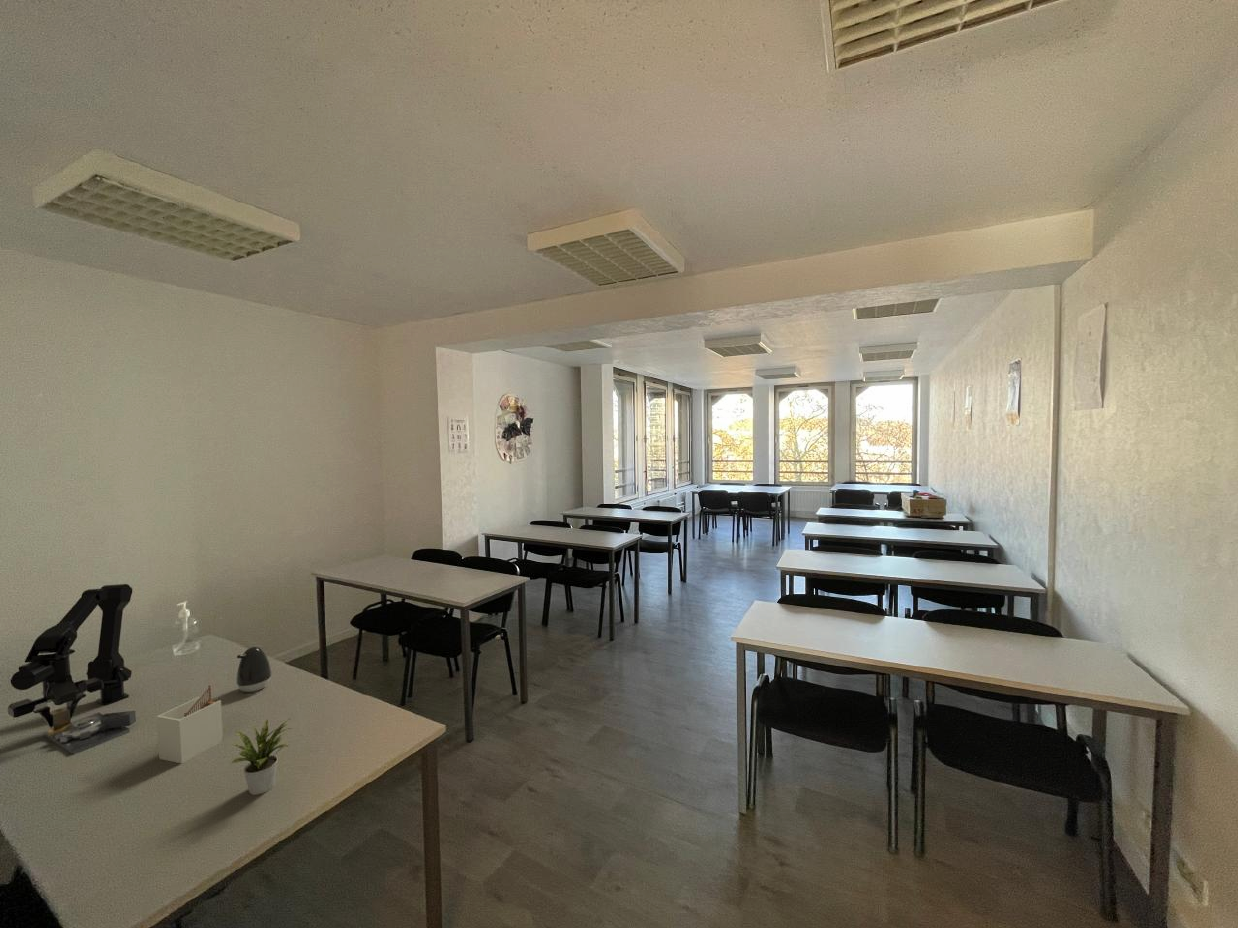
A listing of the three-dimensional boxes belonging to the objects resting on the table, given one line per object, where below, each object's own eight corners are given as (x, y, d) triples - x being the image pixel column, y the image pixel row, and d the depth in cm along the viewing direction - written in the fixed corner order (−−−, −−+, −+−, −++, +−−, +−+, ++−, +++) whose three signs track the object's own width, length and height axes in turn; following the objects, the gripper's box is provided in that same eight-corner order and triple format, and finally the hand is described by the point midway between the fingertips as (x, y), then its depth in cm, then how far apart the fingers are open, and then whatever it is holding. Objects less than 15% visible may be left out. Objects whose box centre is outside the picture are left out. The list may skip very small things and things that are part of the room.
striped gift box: (54, 731, 148) (52, 714, 148) (49, 728, 150) (48, 712, 150) (70, 724, 151) (69, 709, 151) (66, 722, 153) (65, 706, 153)
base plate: (44, 735, 149) (43, 731, 149) (99, 715, 160) (98, 712, 160) (73, 754, 139) (72, 750, 139) (129, 731, 150) (129, 728, 150)
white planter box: (223, 741, 145) (220, 686, 144) (182, 765, 135) (178, 706, 134) (202, 737, 148) (199, 683, 147) (159, 760, 137) (155, 702, 136)
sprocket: (42, 745, 142) (41, 732, 142) (79, 721, 154) (78, 709, 154) (117, 736, 146) (116, 723, 146) (147, 713, 158) (147, 701, 158)
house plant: (304, 788, 124) (301, 725, 123) (235, 818, 114) (231, 750, 113) (292, 762, 134) (289, 704, 133) (227, 788, 124) (224, 726, 124)
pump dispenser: (228, 693, 172) (226, 651, 171) (258, 680, 182) (256, 639, 181) (250, 697, 169) (247, 654, 168) (279, 683, 179) (276, 642, 178)
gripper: (18, 693, 138) (22, 747, 139) (109, 665, 155) (113, 713, 155) (5, 685, 143) (9, 737, 144) (94, 659, 159) (98, 706, 160)
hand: (60, 723), depth 151 cm, fingers closed on striped gift box, 3 cm apart
